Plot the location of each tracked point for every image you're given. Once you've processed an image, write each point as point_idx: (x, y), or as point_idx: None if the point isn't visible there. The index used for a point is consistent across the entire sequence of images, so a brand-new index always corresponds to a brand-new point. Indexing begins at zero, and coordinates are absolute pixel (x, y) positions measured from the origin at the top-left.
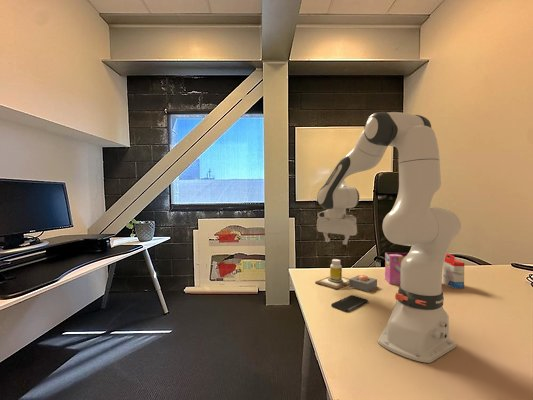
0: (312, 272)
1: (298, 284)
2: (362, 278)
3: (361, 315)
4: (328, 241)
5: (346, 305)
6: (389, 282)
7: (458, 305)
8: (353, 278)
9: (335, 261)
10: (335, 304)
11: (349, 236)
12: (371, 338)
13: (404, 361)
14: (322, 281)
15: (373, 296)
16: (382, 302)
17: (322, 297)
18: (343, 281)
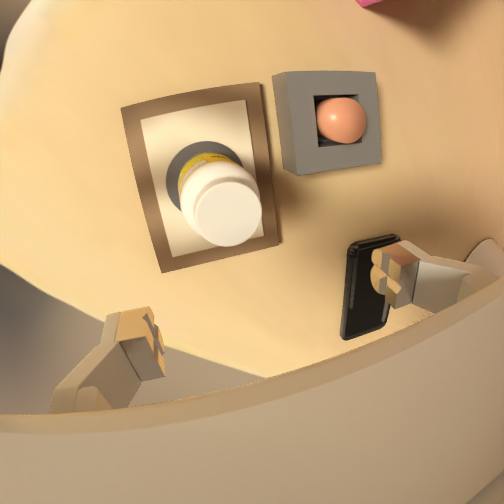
0: (17, 173)
1: None
2: (352, 141)
3: (406, 306)
4: (160, 336)
5: (371, 311)
6: (363, 4)
7: (500, 81)
8: (304, 148)
9: (246, 239)
10: (349, 330)
11: (488, 271)
12: None
13: None
14: (180, 247)
15: (390, 181)
16: (420, 202)
17: (289, 327)
18: (240, 156)
